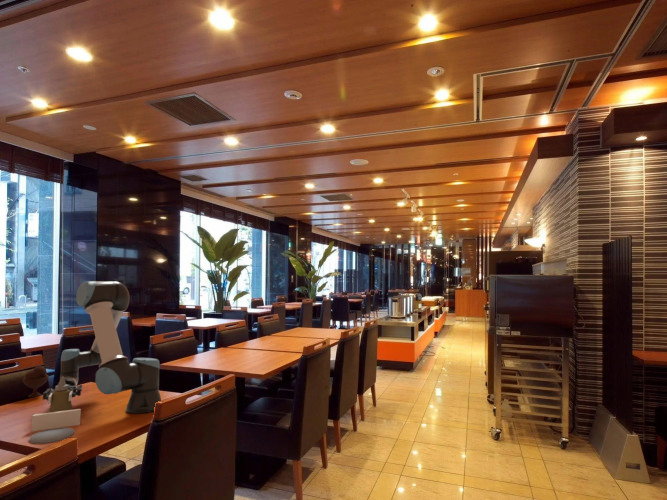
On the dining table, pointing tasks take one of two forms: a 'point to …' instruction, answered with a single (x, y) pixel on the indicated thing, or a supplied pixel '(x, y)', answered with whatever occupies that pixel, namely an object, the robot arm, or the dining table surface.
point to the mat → (51, 435)
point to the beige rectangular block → (56, 419)
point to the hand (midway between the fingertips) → (59, 398)
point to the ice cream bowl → (35, 379)
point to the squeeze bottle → (60, 397)
